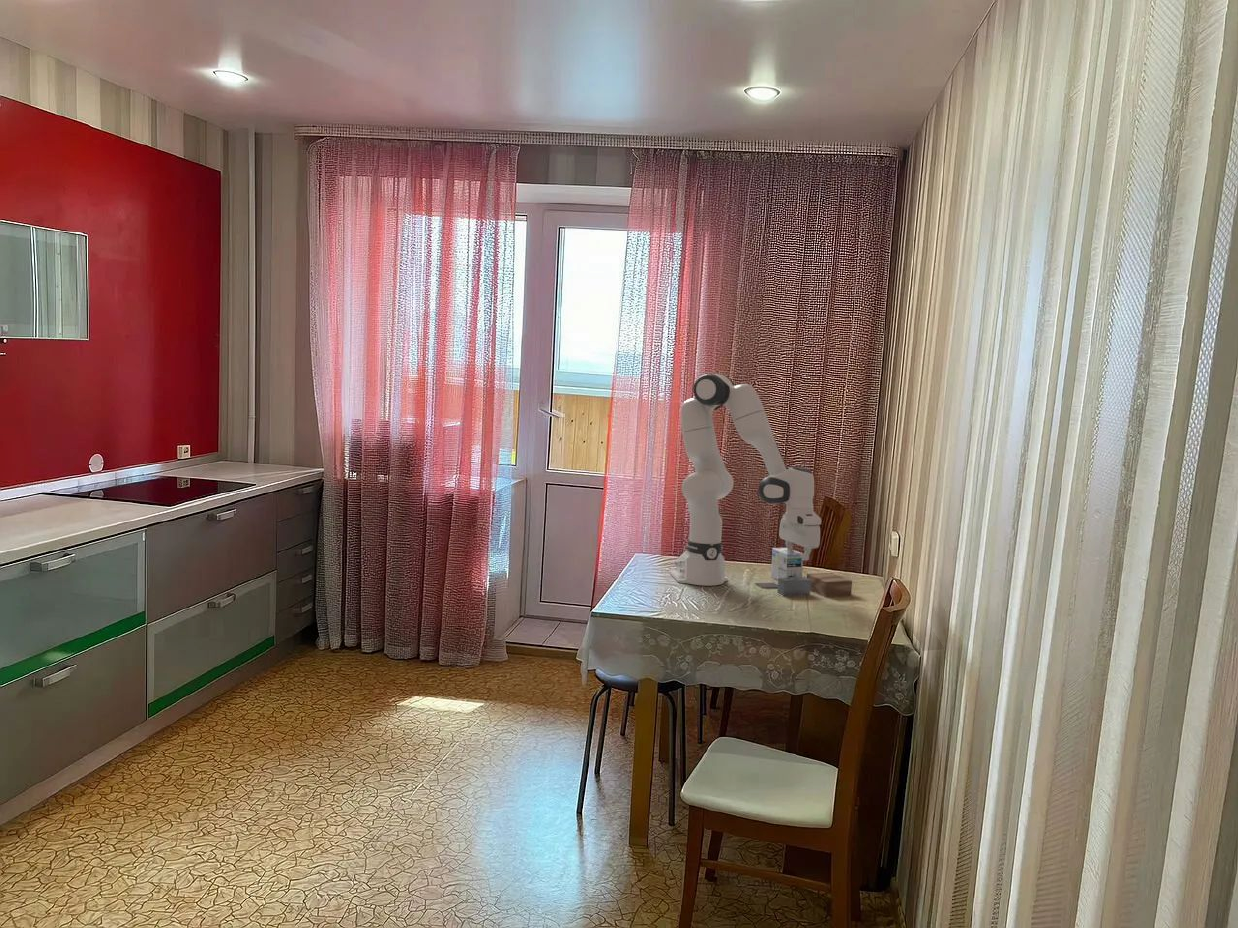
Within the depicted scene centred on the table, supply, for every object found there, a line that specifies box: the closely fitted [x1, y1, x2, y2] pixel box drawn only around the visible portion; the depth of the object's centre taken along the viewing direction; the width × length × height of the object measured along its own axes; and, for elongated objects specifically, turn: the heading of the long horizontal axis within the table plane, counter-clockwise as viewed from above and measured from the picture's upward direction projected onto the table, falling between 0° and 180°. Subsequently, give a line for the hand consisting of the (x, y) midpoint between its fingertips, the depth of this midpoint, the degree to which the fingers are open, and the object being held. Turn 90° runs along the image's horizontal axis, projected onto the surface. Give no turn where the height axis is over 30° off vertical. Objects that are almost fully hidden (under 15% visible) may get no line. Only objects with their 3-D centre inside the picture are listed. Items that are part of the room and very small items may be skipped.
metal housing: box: [777, 576, 811, 597], centre depth 309 cm, size 4×10×6 cm, turn 110°
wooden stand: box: [806, 572, 853, 598], centre depth 315 cm, size 12×10×5 cm
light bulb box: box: [770, 547, 804, 581], centre depth 329 cm, size 11×7×11 cm, turn 22°
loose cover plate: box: [754, 582, 778, 589], centre depth 319 cm, size 6×7×1 cm
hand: (797, 557), depth 308 cm, fingers open, 8 cm apart
